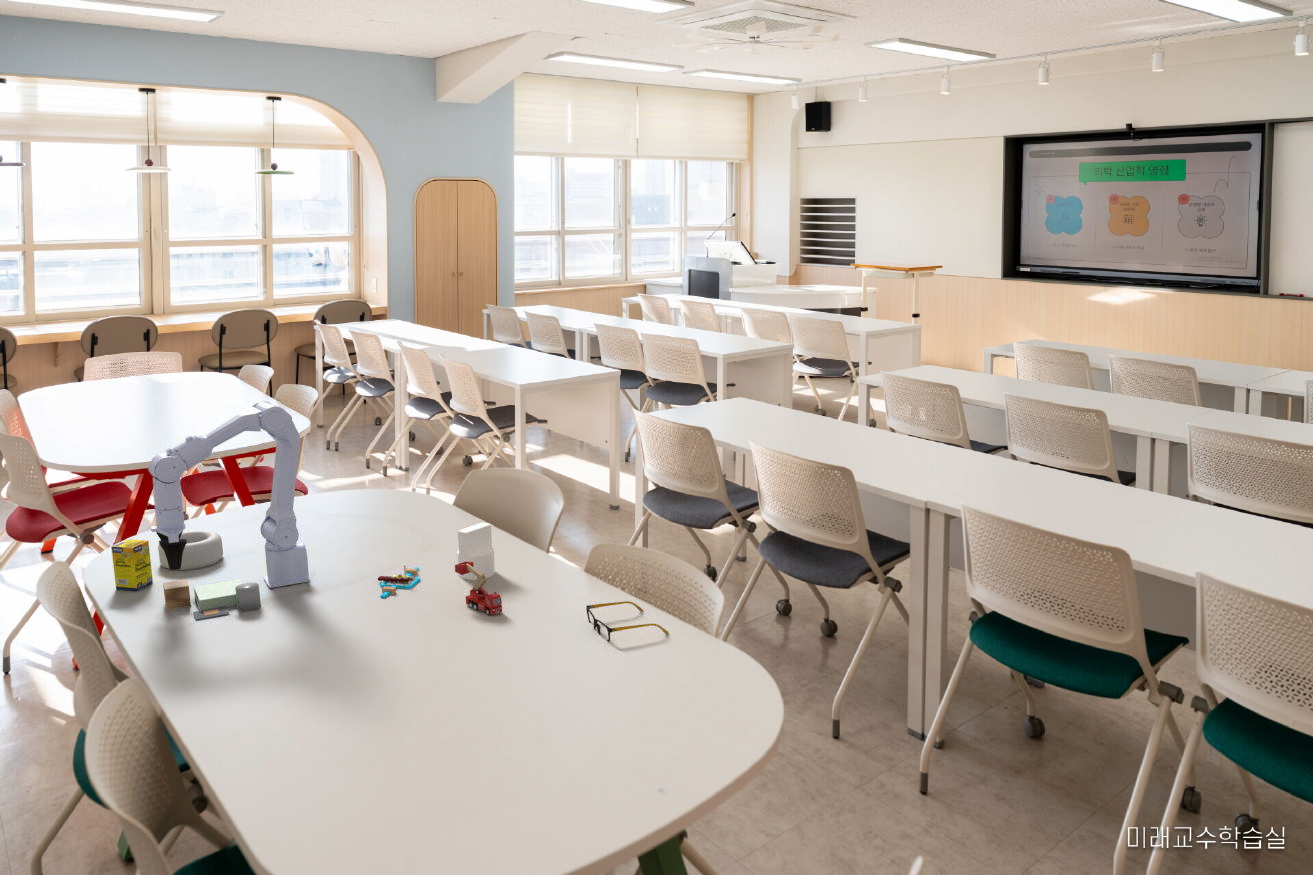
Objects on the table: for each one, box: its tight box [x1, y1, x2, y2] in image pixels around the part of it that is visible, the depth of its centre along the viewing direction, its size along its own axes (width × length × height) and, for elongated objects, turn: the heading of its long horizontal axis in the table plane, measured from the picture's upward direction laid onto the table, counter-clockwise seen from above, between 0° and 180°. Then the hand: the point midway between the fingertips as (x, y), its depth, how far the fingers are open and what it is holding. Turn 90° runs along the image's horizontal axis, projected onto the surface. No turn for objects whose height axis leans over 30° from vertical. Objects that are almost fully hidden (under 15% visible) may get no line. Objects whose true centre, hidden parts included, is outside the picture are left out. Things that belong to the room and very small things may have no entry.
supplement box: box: [110, 538, 154, 592], centre depth 249 cm, size 6×6×11 cm
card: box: [192, 606, 230, 621], centre depth 233 cm, size 7×5×1 cm
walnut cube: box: [162, 579, 192, 611], centre depth 238 cm, size 5×5×5 cm
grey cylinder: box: [235, 582, 262, 612], centre depth 237 cm, size 5×5×5 cm
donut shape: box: [157, 529, 224, 571], centre depth 267 cm, size 15×15×7 cm
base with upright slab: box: [456, 521, 496, 581], centre depth 257 cm, size 9×9×12 cm
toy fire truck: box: [454, 561, 503, 616], centre depth 236 cm, size 3×14×10 cm, turn 47°
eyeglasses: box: [586, 600, 669, 642], centre depth 225 cm, size 14×14×4 cm
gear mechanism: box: [377, 564, 421, 599], centre depth 252 cm, size 20×5×9 cm
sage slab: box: [193, 579, 242, 611], centre depth 241 cm, size 10×10×3 cm
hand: (173, 564), depth 237 cm, fingers open, 7 cm apart
